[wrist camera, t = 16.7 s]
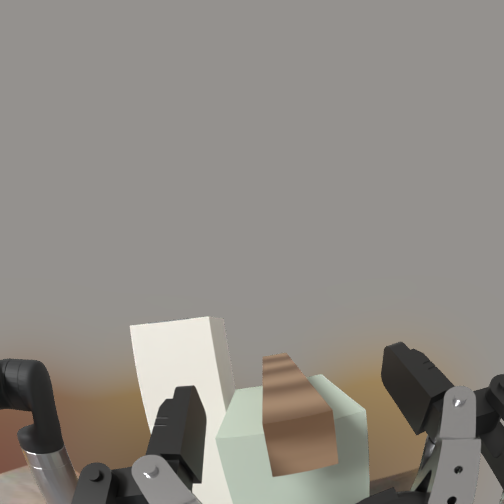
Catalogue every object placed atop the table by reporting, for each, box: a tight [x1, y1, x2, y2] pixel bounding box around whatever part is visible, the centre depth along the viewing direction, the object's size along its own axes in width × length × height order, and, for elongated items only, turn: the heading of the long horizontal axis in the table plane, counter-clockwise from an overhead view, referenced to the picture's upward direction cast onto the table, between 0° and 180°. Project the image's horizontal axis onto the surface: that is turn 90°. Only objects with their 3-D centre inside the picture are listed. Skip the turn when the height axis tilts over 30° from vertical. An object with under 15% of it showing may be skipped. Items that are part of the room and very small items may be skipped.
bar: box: [262, 353, 339, 477], centre depth 21 cm, size 24×3×3 cm, turn 178°
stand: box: [130, 316, 236, 504], centre depth 31 cm, size 12×10×38 cm
